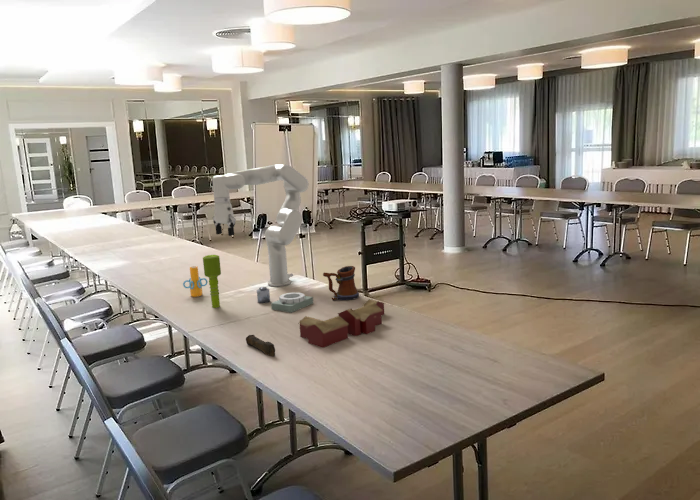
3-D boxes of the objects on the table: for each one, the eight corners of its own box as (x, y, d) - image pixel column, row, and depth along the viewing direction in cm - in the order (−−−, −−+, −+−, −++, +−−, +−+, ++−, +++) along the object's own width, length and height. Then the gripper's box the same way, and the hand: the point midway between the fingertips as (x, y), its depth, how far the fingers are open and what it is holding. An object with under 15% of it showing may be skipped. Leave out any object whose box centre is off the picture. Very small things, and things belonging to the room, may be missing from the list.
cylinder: (200, 298, 293) (197, 269, 290) (181, 298, 295) (178, 269, 292) (211, 292, 304) (208, 264, 301) (192, 292, 306) (189, 264, 304)
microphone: (220, 309, 273) (215, 257, 268) (205, 308, 274) (199, 257, 270) (227, 304, 281) (222, 253, 276) (212, 304, 282) (207, 253, 277)
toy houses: (327, 350, 214) (326, 324, 212) (292, 338, 229) (290, 313, 227) (406, 319, 245) (405, 296, 243) (370, 310, 260) (370, 288, 258)
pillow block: (293, 300, 281) (292, 290, 280) (313, 303, 275) (312, 292, 274) (271, 309, 268) (270, 298, 267) (291, 312, 262) (290, 301, 261)
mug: (331, 304, 271) (329, 273, 268) (319, 299, 280) (317, 269, 277) (363, 297, 280) (362, 267, 277) (351, 292, 289) (349, 263, 286)
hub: (263, 299, 286) (262, 285, 284) (272, 300, 282) (271, 286, 281) (255, 302, 281) (253, 288, 279) (264, 304, 277) (263, 290, 276)
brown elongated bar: (245, 345, 224) (244, 333, 223) (255, 342, 226) (254, 331, 225) (267, 359, 208) (266, 347, 208) (277, 356, 211) (276, 344, 210)
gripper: (239, 200, 284) (242, 234, 288) (217, 199, 295) (220, 232, 299) (227, 202, 279) (230, 237, 282) (205, 200, 290) (208, 234, 293)
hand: (225, 234), depth 290 cm, fingers open, 9 cm apart
